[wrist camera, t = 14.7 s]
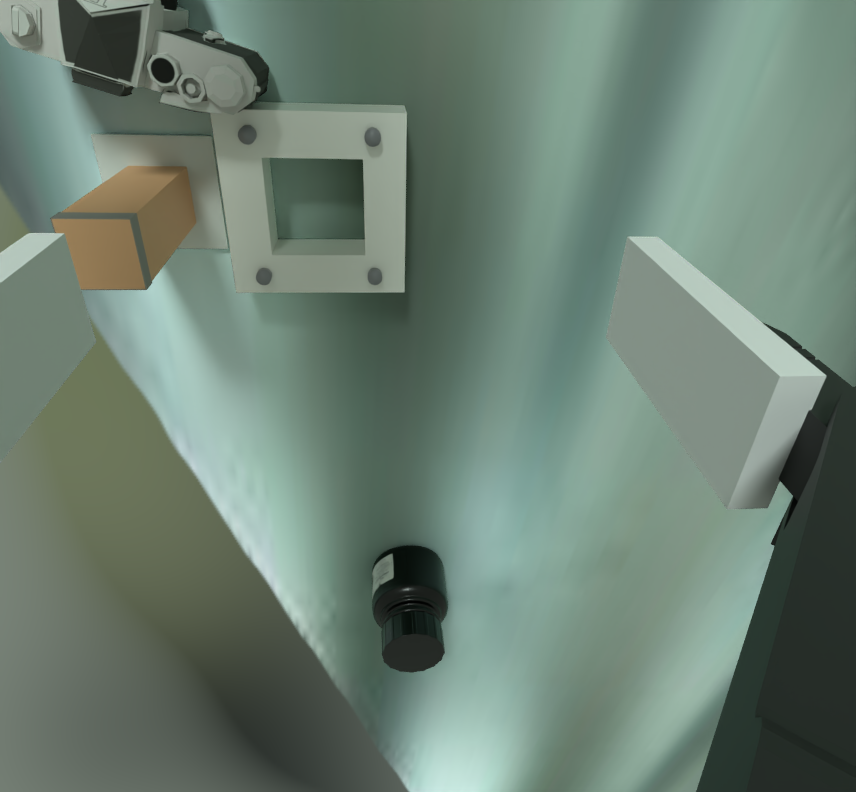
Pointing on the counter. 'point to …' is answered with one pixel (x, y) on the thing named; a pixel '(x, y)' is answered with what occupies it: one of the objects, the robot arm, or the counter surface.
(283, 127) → the frame
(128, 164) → the mat
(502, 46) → the counter surface
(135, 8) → the camera
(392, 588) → the ink bottle
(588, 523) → the counter surface
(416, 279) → the counter surface
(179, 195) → the plug
